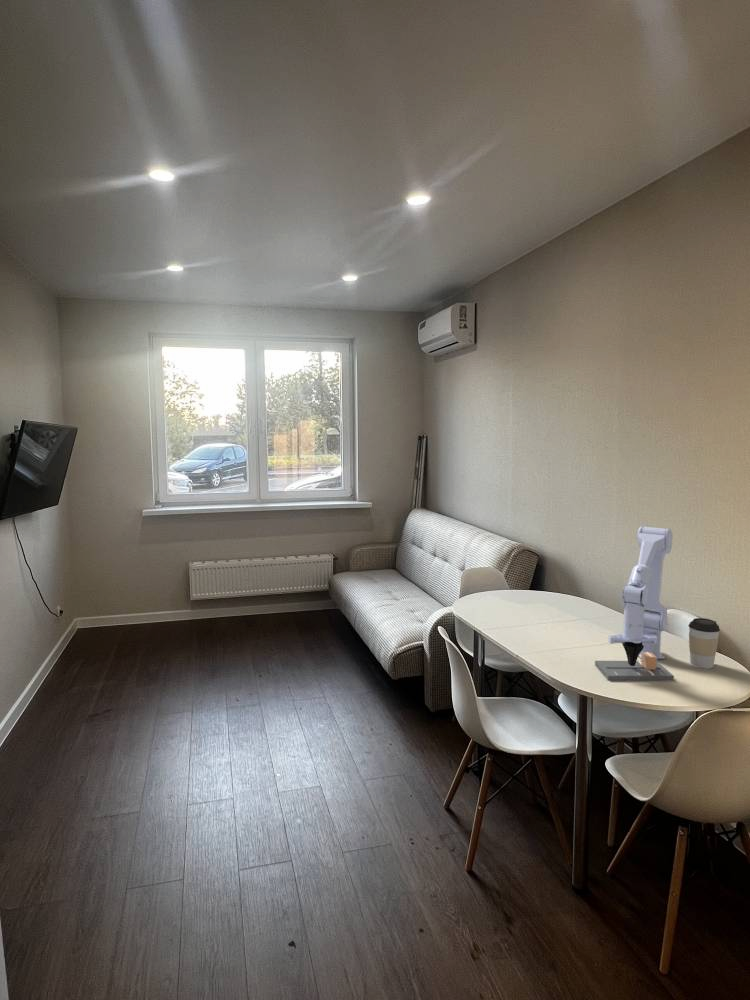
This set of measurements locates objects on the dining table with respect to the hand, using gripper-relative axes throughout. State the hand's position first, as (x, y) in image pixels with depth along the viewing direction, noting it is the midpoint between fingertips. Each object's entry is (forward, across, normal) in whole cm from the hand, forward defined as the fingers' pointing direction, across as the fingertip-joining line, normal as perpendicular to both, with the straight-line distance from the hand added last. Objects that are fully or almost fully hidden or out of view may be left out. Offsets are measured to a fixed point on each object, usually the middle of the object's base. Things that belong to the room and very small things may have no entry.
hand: (631, 664), depth 190 cm
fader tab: (+1, +5, 0) cm, 5 cm away
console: (+3, +1, 0) cm, 3 cm away
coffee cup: (+3, +26, +7) cm, 27 cm away
